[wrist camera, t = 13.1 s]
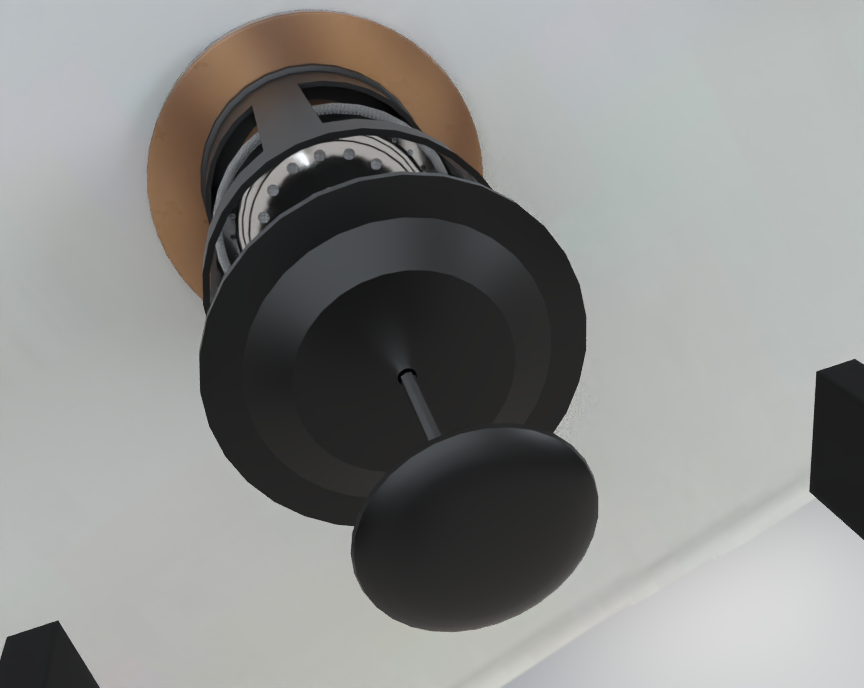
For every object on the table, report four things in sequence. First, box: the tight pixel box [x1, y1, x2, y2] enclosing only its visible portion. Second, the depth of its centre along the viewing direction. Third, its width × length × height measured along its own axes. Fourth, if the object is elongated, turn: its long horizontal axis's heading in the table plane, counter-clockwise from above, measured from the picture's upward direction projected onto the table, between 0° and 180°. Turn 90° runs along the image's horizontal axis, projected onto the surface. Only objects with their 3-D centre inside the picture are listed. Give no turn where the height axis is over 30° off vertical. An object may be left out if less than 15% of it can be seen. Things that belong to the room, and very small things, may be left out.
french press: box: [199, 63, 598, 632], centre depth 22 cm, size 12×9×23 cm
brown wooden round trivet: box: [147, 10, 483, 299], centre depth 33 cm, size 14×14×1 cm
